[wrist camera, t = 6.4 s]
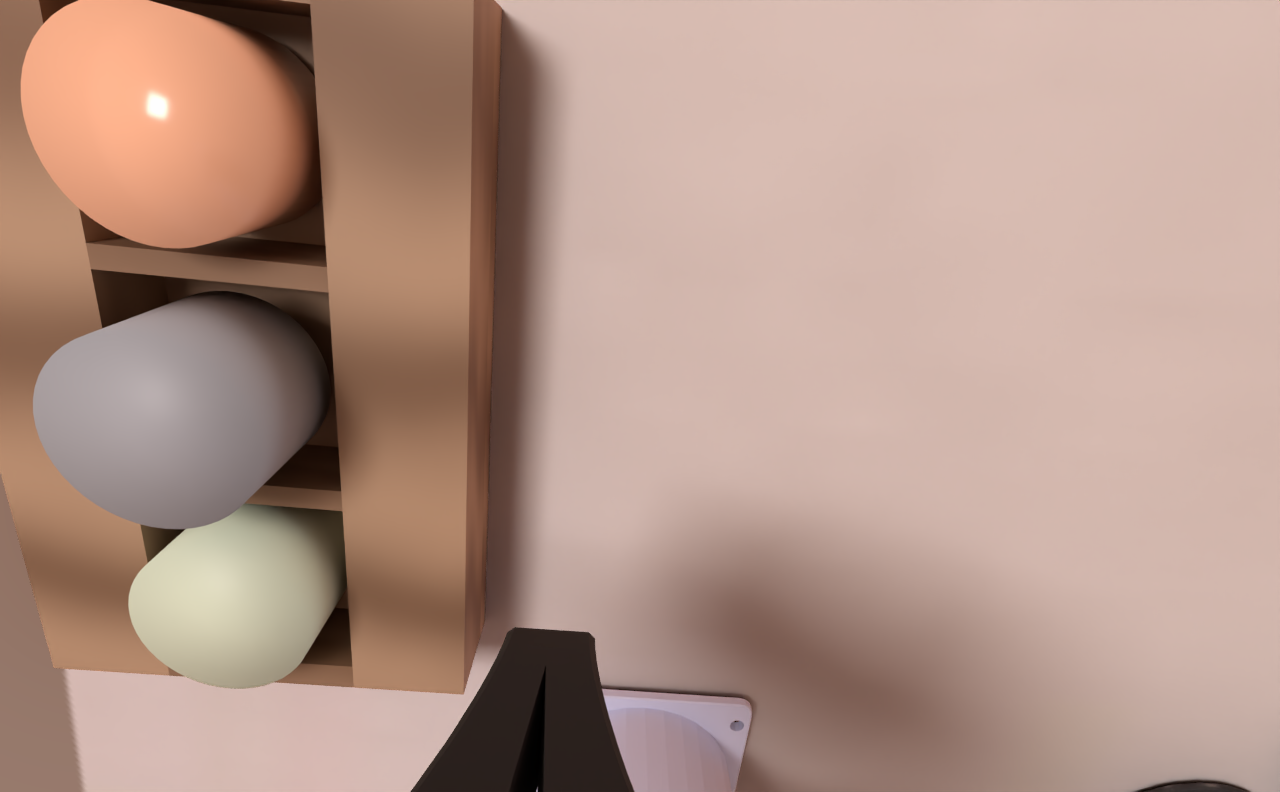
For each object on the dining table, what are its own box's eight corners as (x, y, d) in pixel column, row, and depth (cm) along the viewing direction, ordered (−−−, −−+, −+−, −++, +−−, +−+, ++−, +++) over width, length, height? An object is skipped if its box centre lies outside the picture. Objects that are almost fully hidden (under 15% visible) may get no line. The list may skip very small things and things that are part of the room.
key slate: (335, 464, 18) (272, 537, 15) (161, 450, 18) (58, 520, 15) (324, 300, 17) (251, 341, 13) (132, 281, 16) (8, 318, 13)
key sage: (363, 609, 22) (316, 694, 18) (217, 599, 21) (143, 682, 18) (356, 485, 20) (304, 554, 17) (198, 472, 20) (113, 539, 16)
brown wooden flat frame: (484, 620, 23) (463, 694, 20) (130, 595, 23) (53, 668, 20) (502, 7, 17) (473, -21, 13) (-6, -56, 16) (-157, -101, 13)
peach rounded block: (342, 235, 17) (277, 259, 14) (159, 216, 17) (48, 236, 14) (332, 36, 16) (255, 11, 12) (128, 12, 15) (-6, -21, 12)
